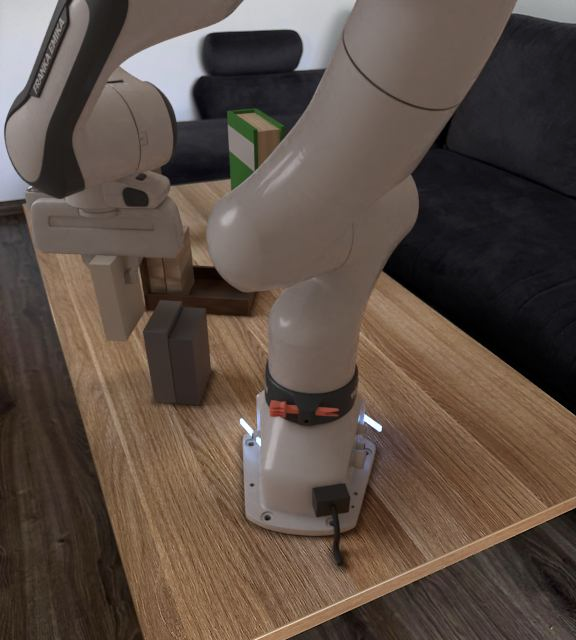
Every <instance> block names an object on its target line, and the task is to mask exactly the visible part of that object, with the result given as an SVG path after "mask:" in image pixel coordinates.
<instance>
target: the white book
mask: <svg viewBox="0 0 576 640" xmlns="http://www.w3.org/2000/svg"><path fill="white" fill-rule="evenodd" d="M132 265H133V263H129V261H128V257H127V256H111V255H96V256H95V257H94V258H93V260H92V261H91V262H90V263H89V268H90V269H89V268H88V269H89V272H90V276H91V280H92V285H93V288H94V289H93V290H94V293H95V298H96V302H97V306H98V311H99V315H100V318H101V324H102V328H103V333H104V336H105V340H106V342H126V343H127V342H128V340H129V339H130V337H131V335H132V334H133V332H134V330H135V328H136V327H137V325H138V323H139V322H140V320H141V318H142V317H143V315H144V314H145V312H146V306H145V301H144V295H143V290H142V284H141V280H140V279H139V281H138V282H137V284H126V283H125V278H124V272H125V271H126V270H127V268H131V267H132ZM137 270H138V271H139V268H138V269H137ZM138 276H139V277H140V275H139V273H138Z"/></svg>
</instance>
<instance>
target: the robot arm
mask: <svg viewBox="0 0 576 640" xmlns="http://www.w3.org/2000/svg"><path fill="white" fill-rule="evenodd" d="M244 1H245V0H57V3H56V5H55V8H54V10H53V13H52V16H51V18H50V21H49V22H48V26H47V28H46V32H45V35H44V37H43V39H42V43H41V45H40V47H39V50H38V53H37V56H36V59H35V60H34V64H33V66H32V69H31V71H30V74H29V77H28V79H27V80H26V81H27V82H26V84H25V86H24V88H22V90H21V91H20V92H19V93H18V94H17V95H16V97H15V98H14V100H13V102H12V104H11V106H9V107H10V108H9V109H8V111H7V114H6V117H5V121H4V126H3V138H4V145H5V150H6V153H7V156H8V159H9V161H10V164H11V166H12V167H13V169H14V171H15V172H16V174H17V175H18V176H19V178H20V179H21V180H22V181H23V182H24V183H26V184H27V185H28V187H27V189H26V190H25V193H24V199H25V202H26V206H27V209H28V211H29V212H30V226H31V231H32V237H33V242H34V246H35V247H36V248H37V249H38V250H39V252H40V253H43V254H56V255H57V254H58V255H80V256H81V260H82V263H83V264H84V265H85V266H86V267H87V268H88V269H89V270H90V268H89V263H90V262H91V261H92V260H93V258H94V257H95V256H96V255H111V256H127V257H128V261H129V263H133V265H132V267H131V268H127V270H126V271H125V272H124V278H125V283H126V284H137V282H138V281H139V280H140V275H139V276H138V274H139V269H140V268H139V265H140V263H141V261H142V259H143V257H152V258H175V257H177V255H178V254H179V253H180V252H181V250H182V249H183V247H184V243H185V240H184V232H183V227H182V226H183V223H182V219H181V215H180V210H179V208H178V206H177V204H176V201H174V199H173V198H172V197H170V196H169V193H170V191H171V181H170V179H169V178H168V177H167V176H165V175H163V174H161V175H160V174H157V173H154V172H151V170H154V169H157V168H159V167H161V168H162V167H163V166H165V165H167V164H169V162H170V161H171V160H172V159H173V157H174V155H175V152H176V149H177V144H178V123H177V115H176V112H175V109H174V107H173V105H172V103H171V101H170V100H169V98H168V97H167V96H166V94H165V93H164V92H163V91H162V90H161V89H160V88H159V87H157V85H155V84H153V83H152V82H151V81H148V80H147V81H146V80H141V79H139V78H137V77H136V76H135V75H133V74H131V73H130V72H128V71H127V70H125V69H124V68H123V67H122V66H121V65H122V64H123V63H125V62H126V61H127V60H129V59H130V58H132V57H133V56H135V55H137V54H139V53H141V52H142V51H145V50H147V49H149V48H151V47H154V46H156V45H158V44H161V43H163V42H167V41H169V40H172V39H175V38H178V37H181V36H184V35H187V34H189V33H192V32H196V31H200V30H202V29H205V28H208V27H211V26H213V25H216V24H218V23H220V22H222V21H224V20H225V19H227V18H228V17H230V16H231V15H232V14H233V13H234V12H235V11H236V10H237V9H238V8H239V6H240V5H241V4H242V3H243V2H244ZM517 2H518V0H355V2H354V5H353V7H352V9H351V12H350V14H349V15H348V18H347V20H346V22H345V25H344V27H343V30H342V32H341V34H340V37H339V38H338V40H337V44H336V46H335V48H334V51H333V52H332V55H331V57H330V59H329V61H328V64H327V65H326V68H325V70H324V72H323V75H322V77H321V79H320V81H319V83H318V86H317V87H316V90H315V91H314V94H313V95H312V98H311V100H310V102H309V104H308V105H307V107H306V109H305V110H304V111H303V113H302V114H301V116H300V117H299V119H298V120H297V122H296V123H295V124H294V126H292V128H291V129H290V130H289V132H288V133H287V134H286V135H285V138H284V139H283V140H282V141H281V143H280V144H279V145H278V146H277V147H276V149H275V150H274V151H273V152H272V153H271V154H270V156H269V157H268V158H267V159H266V160H265V161H264V162H263V163H262V165H261V166H260V167H259V168H258V169H257V170H256V171H255V172H254V173H253V174H252V175H251V176H250V177H249V178H247V179H246V180H245V181H244V182H243V183H241V184H240V185H239V186H238V187H236V188H235V189H234V190H232V191H231V190H230V191H229V192H228V193H227V194H224V195H223V196H222V197H221V198H218V199H217V200H216V201H215V202H214V204H213V205H212V207H211V209H210V211H209V215H208V218H207V222H206V227H205V228H206V229H205V241H206V243H205V244H206V248H207V252H208V256H209V259H210V260H211V261H210V262H212V266H214V267H215V268H216V270H217V271H218V273H219V274H220V275H221V276H222V277H223V278H224V279H225V280H226V281H227V282H228V283H229V284H230V285H232V286H233V287H235V288H236V289H238V290H240V291H242V292H256V293H257V292H264V291H274V290H279V289H284V290H283V291H282V292H281V293H280V294H279V295H278V296H277V297H276V299H275V301H273V303H272V304H271V305H272V306H271V307H270V310H269V313H268V318H267V351H268V352H267V353H268V355H267V361H266V364H265V370H264V376H263V377H264V379H263V386H264V389H263V390H262V391H259V393H257V394H256V427H257V428H256V429H252V427H250V425H248V423H247V422H246V421H245V420H244V419H243V418H240V419H239V423H240V425H241V426H242V427H243V428H244V429H245V430H246V431H247V432H246V433H245V434H244V435H243V436H242V443H241V444H242V469H243V470H242V471H243V493H244V514H245V518H246V519H247V520H248V521H250V522H251V523H253V524H254V525H256V526H258V527H260V528H262V529H264V530H265V529H266V530H269V531H272V532H276V533H280V534H281V533H282V534H286V535H287V534H288V535H294V536H295V535H296V536H307V537H323V536H333V542H332V550H333V551H332V553H333V556H334V560H335V563H336V566H337V567H341V566H343V565H344V562H343V559H342V555H341V552H340V543H341V542H340V541H341V534H342V533H346V532H349V531H350V530H353V529H354V528H355V527H356V526H357V524H358V520H359V517H360V513H361V509H362V505H363V502H364V500H365V499H364V498H365V494H366V491H367V487H368V483H369V481H370V476H371V472H372V468H373V465H374V462H375V458H376V454H377V453H376V452H377V451H376V450H377V448H376V445H375V443H373V441H371V440H370V439H367V438H365V437H364V436H366V434H367V429H368V425H370V426H371V427H372V428H374V429H375V430H377V432H382V425H381V424H380V423H378V422H377V421H375V420H373V419H372V418H371V417H369V416H368V415H367V414H366V406H367V404H366V401H364V400H363V398H361V397H360V396H359V395H358V388H359V379H360V378H359V367H358V364H357V357H358V348H359V341H360V333H361V327H362V321H363V318H364V314H365V311H366V308H367V305H368V303H369V300H370V298H371V296H372V293H373V291H374V288H375V286H376V284H377V282H378V280H379V278H380V276H381V274H382V272H383V270H384V268H385V266H386V264H387V262H388V260H389V259H390V258H391V255H392V254H393V252H394V251H395V250H396V248H397V247H398V245H400V243H401V242H402V241H403V240H404V239H405V237H406V236H407V235H408V234H409V233H410V232H411V231H412V229H413V228H414V227H415V224H416V222H417V219H418V215H419V210H420V209H419V208H420V200H419V191H418V188H417V185H416V182H415V179H414V178H413V175H412V173H413V172H414V171H415V170H416V169H417V167H418V166H419V165H420V163H421V162H422V161H423V159H424V157H425V156H426V155H427V153H428V152H429V150H430V149H431V147H432V146H433V144H434V143H435V141H436V140H437V138H438V137H439V136H440V134H441V132H442V131H443V130H444V128H445V127H446V126H447V124H448V122H449V121H450V120H451V118H452V117H453V116H454V114H455V112H456V111H457V109H458V108H459V107H460V105H461V103H462V102H463V101H464V99H465V98H466V96H467V94H468V93H469V91H470V90H471V88H472V87H473V85H474V83H475V82H476V81H477V79H478V77H479V75H480V74H481V72H482V71H483V69H484V68H485V65H486V64H487V62H488V61H489V58H490V57H491V56H492V53H493V51H494V49H495V47H496V45H497V44H498V42H499V40H500V38H501V36H502V34H503V32H504V30H505V28H506V26H507V23H508V21H509V19H510V17H511V15H512V13H513V12H514V9H515V7H516V4H517ZM137 269H138V270H137ZM365 422H366V423H367V424H368V425H367V424H365Z"/></svg>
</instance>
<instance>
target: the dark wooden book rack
mask: <svg viewBox="0 0 576 640" xmlns="http://www.w3.org/2000/svg"><path fill="white" fill-rule="evenodd" d="M182 227H183V232H184V240H185V243H184V247H183V249H182V250H181V252H180V253H179V254H178V255H177V257H175V258H152V257H143V259H142V261H141V263H140V265H139V268H138V269H139V273H140V279H141V280H140V282H141V288H142V294H143V300H144V307H145V311H154V310H155V308H156V307H157V305H158V303H159V301H160V300H166V301H182V305H183V307H190V308H206V315H219V316H237V317H250V313H251V311H252V308H253V304H254V301H255V298H256V295H257V291H256V292H242V291H240V290H238V289H236V288H235V287H233V286H232V285H230V284H229V283H228V282H227V281H226V280H225V279H224V278H223V277H222V276H221V275H220V274H219V273H218V271H217V270H216V268H215V267H214V265H197V264H193V253H192V243H191V233H190V226H189V225H182Z"/></svg>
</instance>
